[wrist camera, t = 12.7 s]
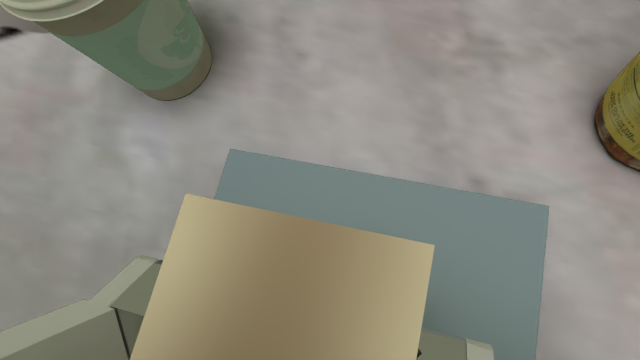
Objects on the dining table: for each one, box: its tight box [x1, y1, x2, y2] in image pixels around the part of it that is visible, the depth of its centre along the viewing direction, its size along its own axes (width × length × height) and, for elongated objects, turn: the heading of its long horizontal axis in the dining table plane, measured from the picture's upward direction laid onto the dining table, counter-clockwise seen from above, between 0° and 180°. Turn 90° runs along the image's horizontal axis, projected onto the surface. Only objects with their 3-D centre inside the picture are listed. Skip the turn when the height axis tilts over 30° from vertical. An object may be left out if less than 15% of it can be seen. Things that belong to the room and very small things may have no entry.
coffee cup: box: [0, 0, 212, 100], centre depth 23 cm, size 9×9×12 cm
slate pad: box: [214, 149, 549, 360], centre depth 21 cm, size 18×16×2 cm
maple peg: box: [130, 194, 435, 360], centre depth 10 cm, size 5×5×8 cm
